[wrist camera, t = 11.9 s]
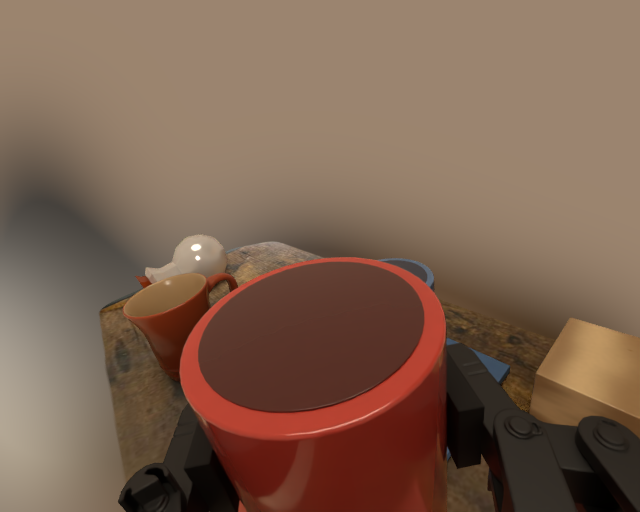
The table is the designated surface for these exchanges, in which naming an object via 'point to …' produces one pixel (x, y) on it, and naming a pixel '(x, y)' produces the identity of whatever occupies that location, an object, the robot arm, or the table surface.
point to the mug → (172, 313)
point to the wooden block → (589, 377)
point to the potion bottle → (190, 260)
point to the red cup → (325, 388)
